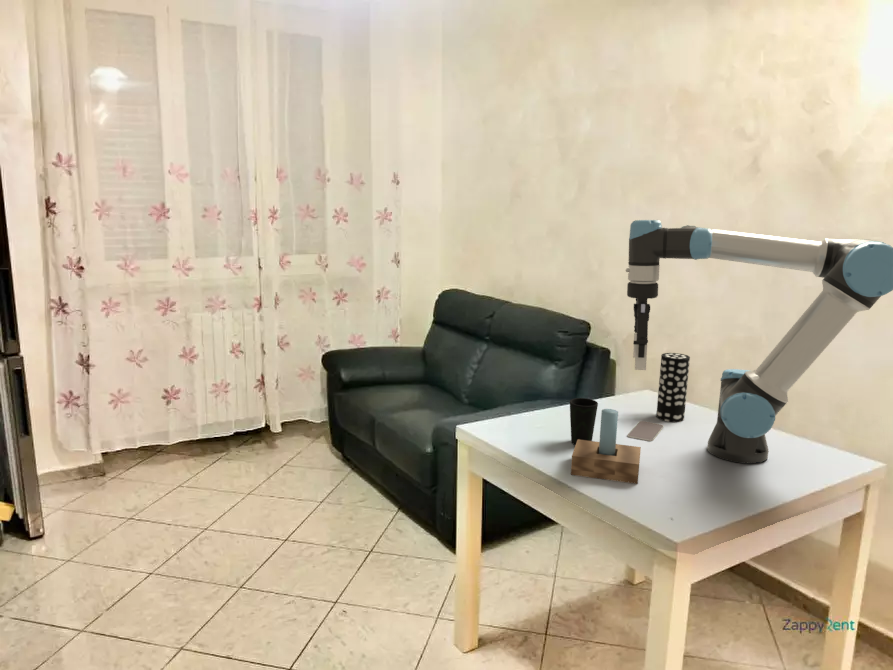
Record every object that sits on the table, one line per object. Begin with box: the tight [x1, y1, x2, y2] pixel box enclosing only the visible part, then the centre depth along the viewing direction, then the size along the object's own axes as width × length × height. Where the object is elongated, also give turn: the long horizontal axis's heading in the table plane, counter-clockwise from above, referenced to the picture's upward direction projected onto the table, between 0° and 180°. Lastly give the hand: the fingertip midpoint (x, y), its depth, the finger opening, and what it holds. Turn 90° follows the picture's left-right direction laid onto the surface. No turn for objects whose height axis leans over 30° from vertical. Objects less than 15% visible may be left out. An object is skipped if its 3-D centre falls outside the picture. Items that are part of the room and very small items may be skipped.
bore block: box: [570, 439, 642, 485], centre depth 167 cm, size 16×12×5 cm
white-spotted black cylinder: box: [655, 352, 691, 423], centre depth 206 cm, size 8×8×20 cm
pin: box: [598, 408, 619, 456], centre depth 166 cm, size 4×4×14 cm
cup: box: [569, 397, 599, 446], centre depth 184 cm, size 8×8×12 cm
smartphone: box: [627, 420, 664, 442], centre depth 196 cm, size 7×1×15 cm
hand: (639, 363), depth 172 cm, fingers open, 13 cm apart
